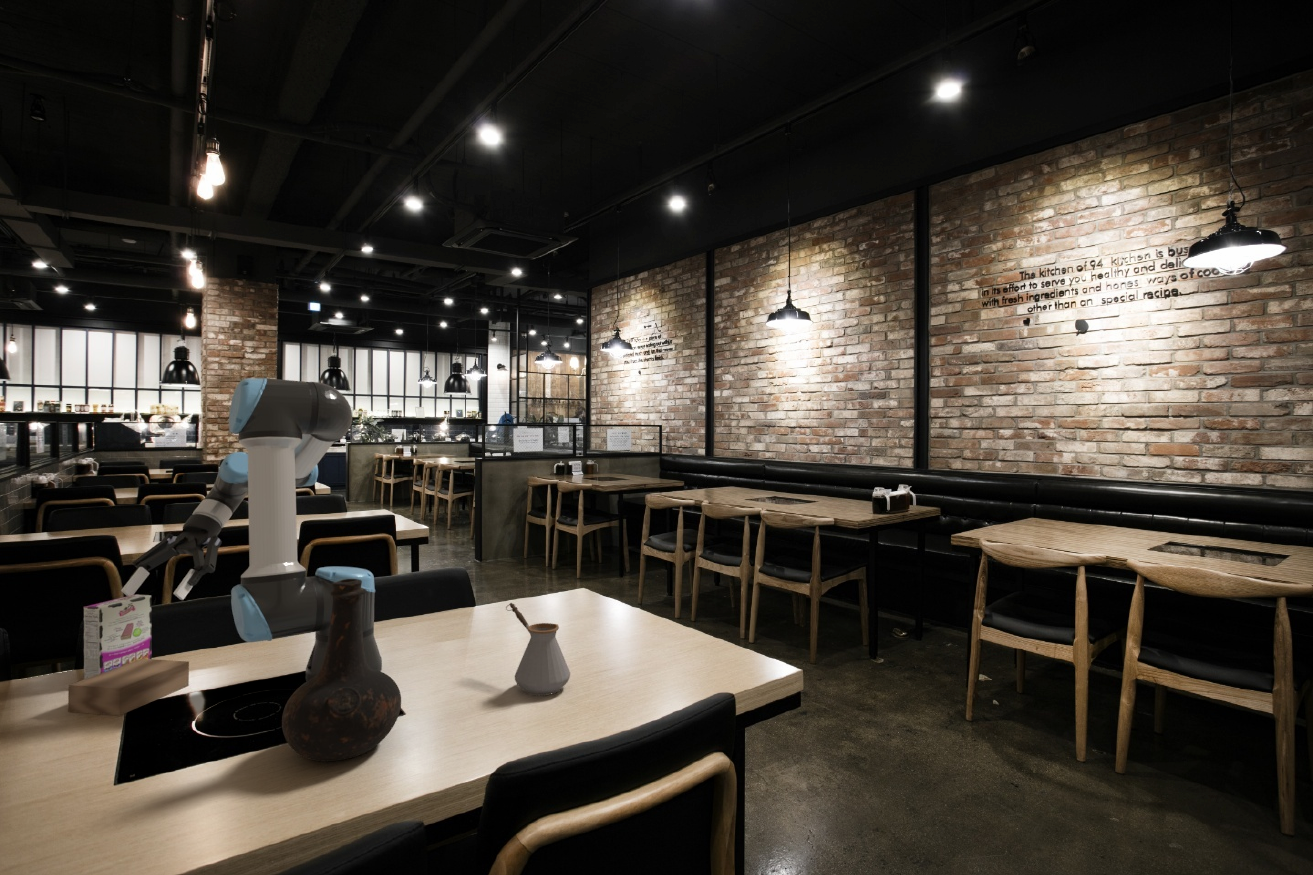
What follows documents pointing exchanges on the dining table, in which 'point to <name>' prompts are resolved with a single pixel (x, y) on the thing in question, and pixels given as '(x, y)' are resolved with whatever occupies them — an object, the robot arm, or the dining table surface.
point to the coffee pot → (541, 660)
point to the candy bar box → (116, 633)
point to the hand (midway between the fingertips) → (151, 595)
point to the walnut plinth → (128, 686)
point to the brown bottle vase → (342, 691)
